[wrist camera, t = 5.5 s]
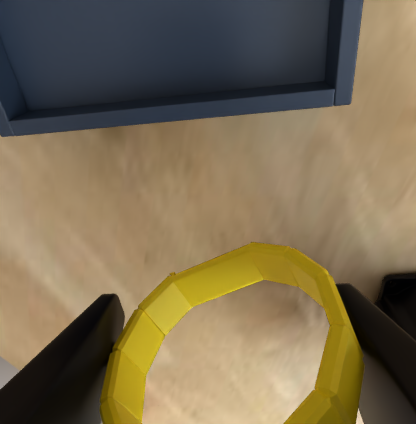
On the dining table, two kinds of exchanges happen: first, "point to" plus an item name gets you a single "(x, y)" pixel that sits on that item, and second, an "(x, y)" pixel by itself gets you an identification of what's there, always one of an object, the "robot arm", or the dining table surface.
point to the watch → (218, 286)
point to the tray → (170, 60)
